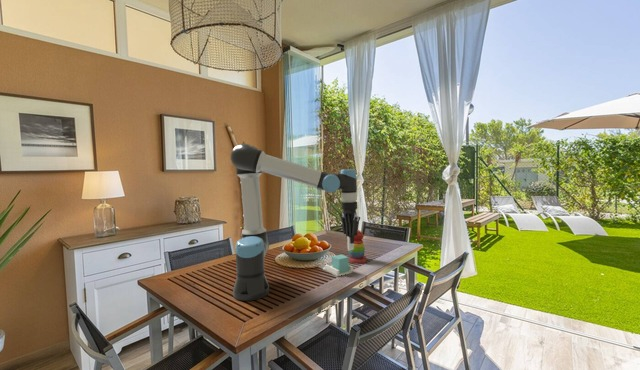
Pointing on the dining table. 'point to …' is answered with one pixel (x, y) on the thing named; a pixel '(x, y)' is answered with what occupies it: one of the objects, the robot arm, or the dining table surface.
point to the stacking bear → (358, 250)
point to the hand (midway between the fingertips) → (350, 249)
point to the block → (340, 263)
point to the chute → (334, 271)
